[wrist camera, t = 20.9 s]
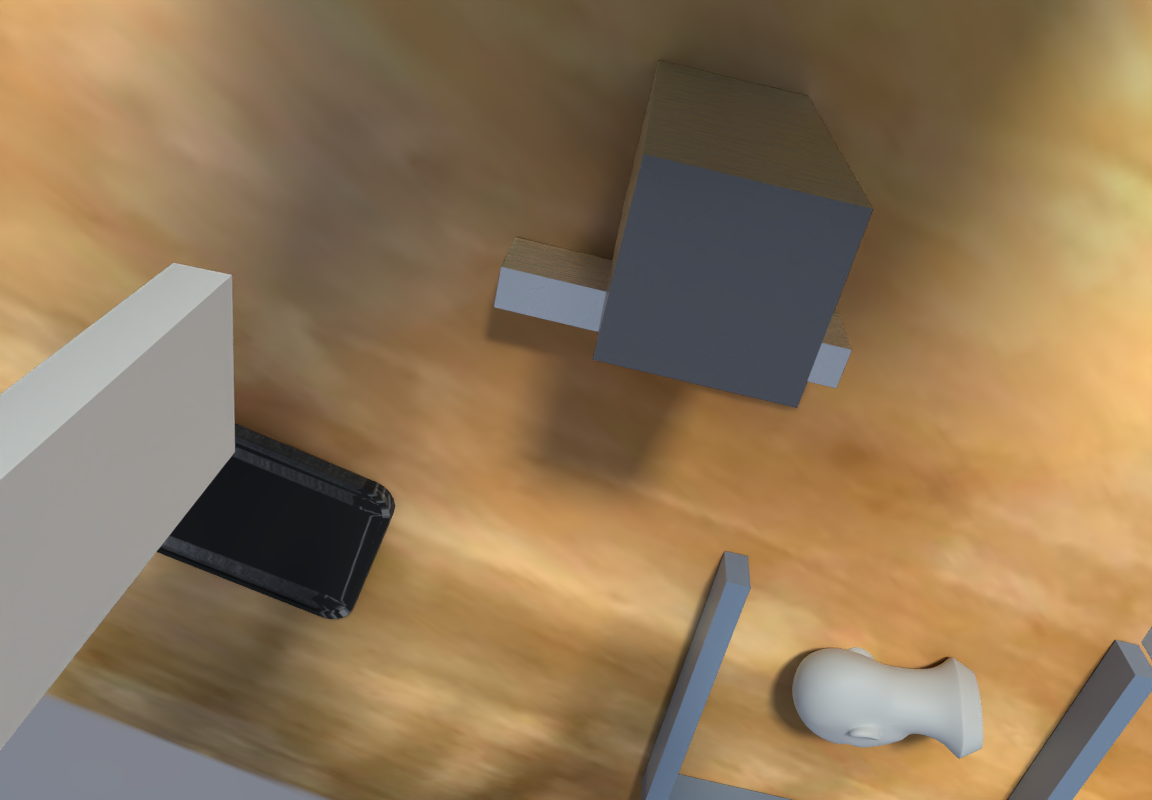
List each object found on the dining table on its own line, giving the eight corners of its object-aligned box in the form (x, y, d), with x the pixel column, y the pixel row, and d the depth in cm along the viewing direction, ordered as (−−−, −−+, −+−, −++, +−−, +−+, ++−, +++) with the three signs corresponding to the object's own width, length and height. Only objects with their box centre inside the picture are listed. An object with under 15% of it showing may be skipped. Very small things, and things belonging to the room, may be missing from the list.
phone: (345, 626, 43) (25, 500, 41) (352, 609, 44) (40, 486, 42) (398, 500, 39) (48, 356, 37) (405, 485, 40) (64, 344, 38)
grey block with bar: (553, 35, 30) (481, 115, 20) (913, 121, 30) (1033, 247, 20) (508, 275, 34) (430, 446, 24) (825, 349, 34) (885, 553, 24)
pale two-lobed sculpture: (778, 668, 44) (806, 614, 40) (948, 700, 43) (992, 648, 40) (777, 758, 41) (807, 708, 37) (959, 793, 41) (1008, 746, 37)
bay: (724, 550, 39) (726, 581, 37) (1138, 645, 39) (1159, 680, 38) (641, 779, 47) (640, 814, 45) (990, 858, 47) (1002, 896, 45)
